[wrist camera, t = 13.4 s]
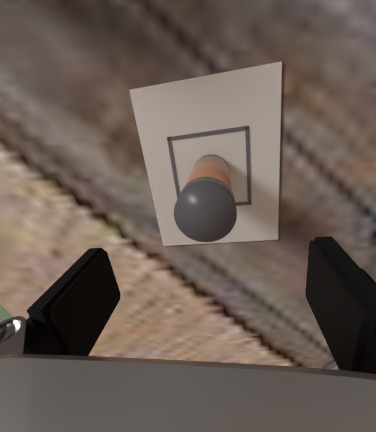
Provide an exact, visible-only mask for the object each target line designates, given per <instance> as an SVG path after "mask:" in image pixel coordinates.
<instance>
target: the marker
mask: <svg viewBox="0 0 376 432" xmlns="http://www.w3.org/2000/svg"><path fill="white" fill-rule="evenodd" d="M174 219H175V222H176V225H177V226H178V228H179V229H180V231H181V232H182V233H183V234H184V235H186V236H187V237H188V238H190V239H192V240H195V241H199V242H214V241H217V240H220V239H222V238H224V237H225V236H226V235H228V234H229V233H230V232H231V230H232V229H233V227H234V225H235V223H236V219H237V210H236V204H235V198H234V195H233V192H232V188H231V181H230V175H229V169H228V165H227V163H226V161H225V160H224V159H223V158H222V157H220V156H218V155H215V154H208V155H205V156H203V157H201V158H200V159H199V160H198V161H197V162H196V164H195V166H194V168H193V170H192V173H191V175H190V177H189V179H188V181H187V183H186V185H185V187H184V188H183V189H182V191H181V193H180V195H179V197H178V199H177V201H176V203H175V207H174Z"/></svg>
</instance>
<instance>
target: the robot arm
mask: <svg viewBox="0 0 376 432" xmlns="http://www.w3.org/2000/svg"><path fill="white" fill-rule="evenodd" d="M306 297H307V301H308V303H309V305H310V307H311V309H312V311H313V314H314V316H315V318H316V320H317V322H318V325H319V327H320V329H321V331H322V333H323V335H324V338H325V340H326V342H327V344H328V346H329V349H330V351H331V353H332V355H333V357H334V359H335V361H333V362H331V363H330V364H329V365H327V366H326V367H325V368H324V369H320V368H306V367H292V366H276V365H258V364H239V363H221V362H203V361H183V360H163V359H142V358H121V357H97V356H88V355H89V353H90V352H91V350H92V348H93V346H94V344H95V343H96V341H97V339H98V337H99V336H100V334H101V332H102V330H103V329H104V327H105V325H106V323H107V321H108V320H109V318H110V316H111V314H112V313H113V311H114V309H115V307H116V306H117V304H118V302H119V300H120V291H119V288H118V285H117V282H116V279H115V276H114V273H113V269H112V266H111V263H110V260H109V257H108V254H107V252H106V251H104V250H103V249H102V248H91V249H88V250H87V251H86V252H85V253H84V254H83V255H82V256H81V257H80V258H79V259H78V260H77V261H76V262H75V263H74V264H73V265H72V266H71V267H70V268H69V269H68V270H67V271H66V272H65V273H64V274H63V275H62V276H61V277H60V278H59V279H58V280H57V281H56V282H55V283H54V284H53V285H52V286H51V287H50V288H49V289H48V290H47V291H46V292H45V293H44V294H43V295H42V296H41V297H40V298H39V299H38V300H37V301H36V302H35V303H34V304H33V305H32V306H31V307H30V308H29V309H28V310H27V312H28V314H29V316H30V317H29V318H28V319H27V320H26V319H25V318H24V317H21V316H17V317H12V318H9V319H6V320H4V321H2V322H0V432H376V282H375V281H374V280H373V279H372V278H371V277H370V276H369V275H368V274H367V273H366V271H364V270H363V269H362V268H360V267H359V266H358V265H357V264H356V263H355V262H354V261H353V260H352V259H351V258H350V256H349V255H348V254H347V253H346V252H345V251H344V250H343V249H342V248H341V246H340V245H339V244H338V243H337V242H336V241H335V240H334V239H333V238H332V237H316V238H315V239H314V241H310V244H309V256H308V269H307V281H306Z"/></svg>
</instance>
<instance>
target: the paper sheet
mask: <svg viewBox="0 0 376 432" xmlns="http://www.w3.org/2000/svg"><path fill="white" fill-rule="evenodd" d="M281 81H282V62H277V63H271V64H266V65H260V66H255V67H250V68H244V69H239V70H234V71H228V72H223V73H217V74H212V75H207V76H201V77H196V78H190V79H185V80H180V81H174V82H169V83H164V84H158V85H153V86H147V87H142V88H137V89H131V90H129V91H130V95H131V100H132V104H133V109H134V114H135V118H136V123H137V127H138V132H139V137H140V141H141V146H142V150H143V155H144V160H145V164H146V169H147V173H148V178H149V183H150V187H151V192H152V196H153V201H154V206H155V210H156V215H157V219H158V224H159V229H160V233H161V238H162V242H163V246H172V245H190V244H209V243H227V242H246V241H264V240H278V215H279V171H280V126H281ZM208 154H215V155H218V156H220V157H222V158H223V159H224V160H225V161H226V163H227V165H228V169H229V175H230V181H231V188H232V192H233V195H234V198H235V204H236V210H237V219H236V223H235V225H234V227H233V229H232V230H231V232H230V233H229V234H228V235H226V236H225V237H224V238H222V239H220V240H217V241H214V242H199V241H195V240H192V239H190V238H188V237H187V236H186V235H184V234H183V233H182V232H181V231H180V229H179V228H178V226H177V225H176V222H175V219H174V207H175V203H176V201H177V199H178V197H179V195H180V193H181V191H182V189H183V188H184V187H185V185H186V183H187V181H188V179H189V177H190V175H191V173H192V170H193V168H194V166H195V164H196V162H197V161H198V160H199V159H200V158H201V157H203V156H205V155H208Z"/></svg>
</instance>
